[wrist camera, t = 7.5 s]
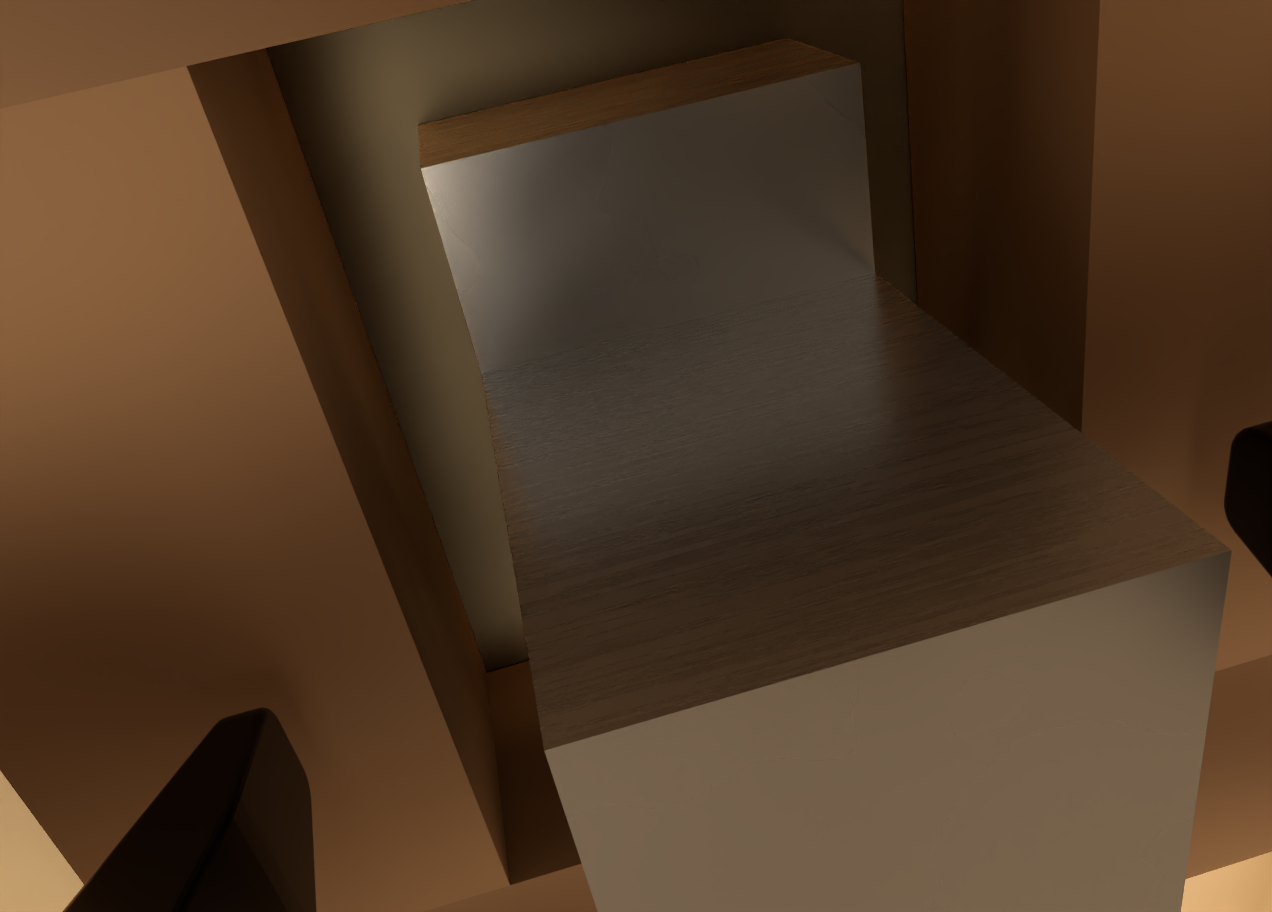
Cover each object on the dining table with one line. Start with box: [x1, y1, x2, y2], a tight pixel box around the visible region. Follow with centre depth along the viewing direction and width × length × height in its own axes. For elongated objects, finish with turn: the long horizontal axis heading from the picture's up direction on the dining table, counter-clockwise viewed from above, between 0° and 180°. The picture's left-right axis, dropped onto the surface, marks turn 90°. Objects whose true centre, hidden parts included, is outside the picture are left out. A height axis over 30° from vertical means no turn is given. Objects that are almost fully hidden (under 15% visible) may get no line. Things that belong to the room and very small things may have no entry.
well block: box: [0, 0, 1272, 912], centre depth 10 cm, size 16×14×4 cm
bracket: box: [418, 38, 1232, 912], centre depth 9 cm, size 6×4×7 cm, turn 11°
